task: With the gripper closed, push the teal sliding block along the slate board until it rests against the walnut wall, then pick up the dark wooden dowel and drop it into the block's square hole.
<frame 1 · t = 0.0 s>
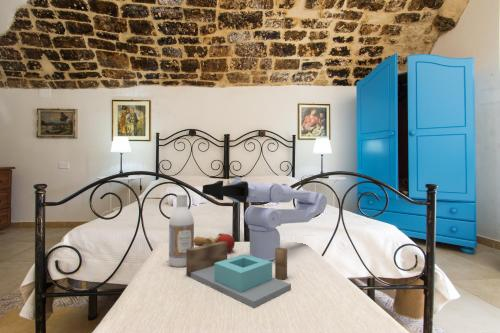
hand: (211, 189, 72), 22 cm above the table, tool horizontal, fingers open, 7 cm apart
bath foam: (181, 264, 80), on the table
walnut wall: (207, 270, 74), resting on slate board
kendama: (212, 249, 95), on the table
walnut dowel: (281, 277, 69), on the table
teal block: (243, 271, 64), point 3 cm above the table, slide at 8.3 cm
slate board: (235, 281, 66), on the table
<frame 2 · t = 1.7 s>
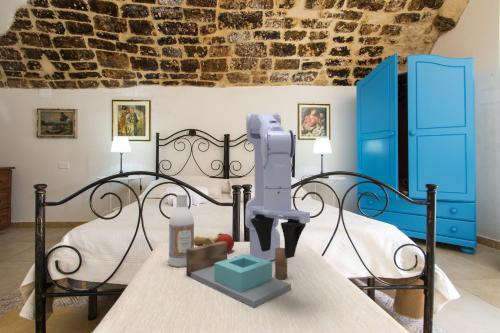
hand: (277, 253, 57), 9 cm above the table, tool pointing down, fingers open, 6 cm apart
nothing on the table moved.
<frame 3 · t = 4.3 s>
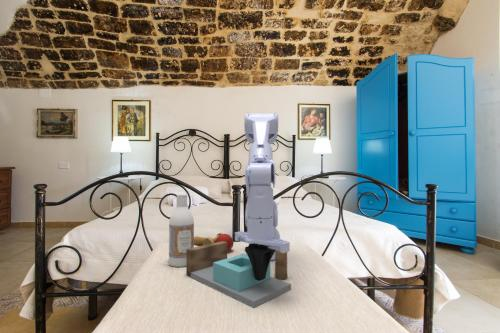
hand: (260, 278, 61), 3 cm above the table, tool pointing down, fingers closed
teal block: (241, 270, 65), point 3 cm above the table, slide at 7.8 cm, touching gripper
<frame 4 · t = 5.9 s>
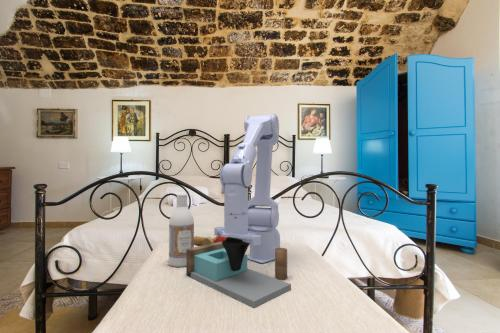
hand: (236, 269, 66), 3 cm above the table, tool pointing down, fingers closed
teal block: (220, 262, 70), point 3 cm above the table, slide at 0.0 cm, touching gripper, walnut wall
everything else where it was.
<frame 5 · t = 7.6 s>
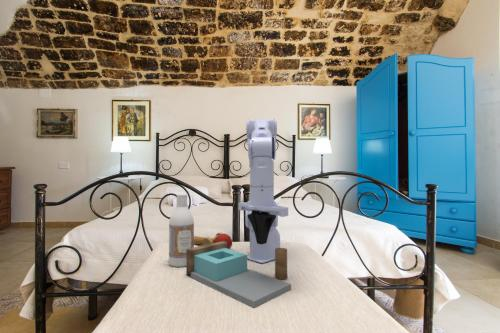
hand: (261, 243, 66), 9 cm above the table, tool pointing down, fingers closed
teal block: (220, 262, 70), point 3 cm above the table, slide at 0.0 cm, touching walnut wall
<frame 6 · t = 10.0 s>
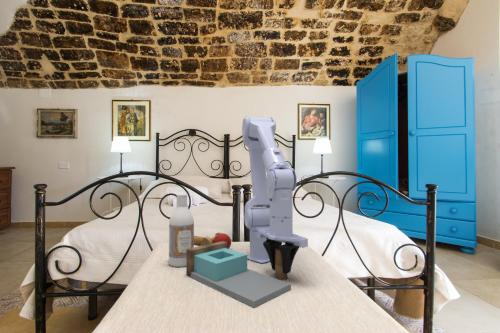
hand: (281, 271, 69), 2 cm above the table, tool pointing down, fingers closed on walnut dowel, 3 cm apart
walnut dowel: (281, 277, 69), on the table, touching gripper
when the fingers open (6 cm above the table, at t = 13.5 s): walnut dowel drops 2 cm, resting on teal block.
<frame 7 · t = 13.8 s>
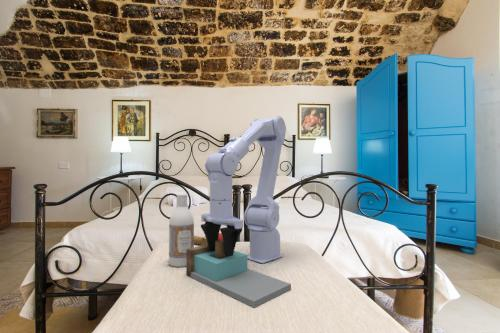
hand: (220, 253, 70), 6 cm above the table, tool pointing down, fingers open, 6 cm apart
walnut dowel: (220, 268, 70), point 2 cm above the table, touching teal block
teal block: (221, 262, 70), point 3 cm above the table, slide at 0.0 cm, touching walnut dowel
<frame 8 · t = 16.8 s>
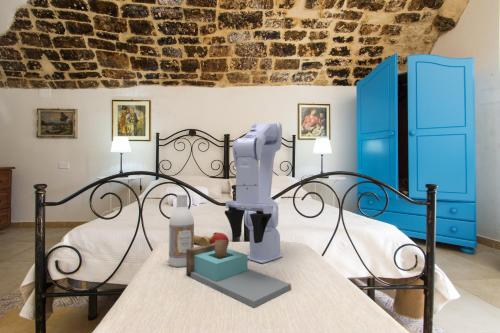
hand: (247, 239, 69), 9 cm above the table, tool pointing down, fingers open, 7 cm apart
at the end: teal block slide at 0.0 cm; walnut dowel 0.1 cm from the target spot, point 1.7 cm above the table; walnut dowel tilted 0° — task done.
